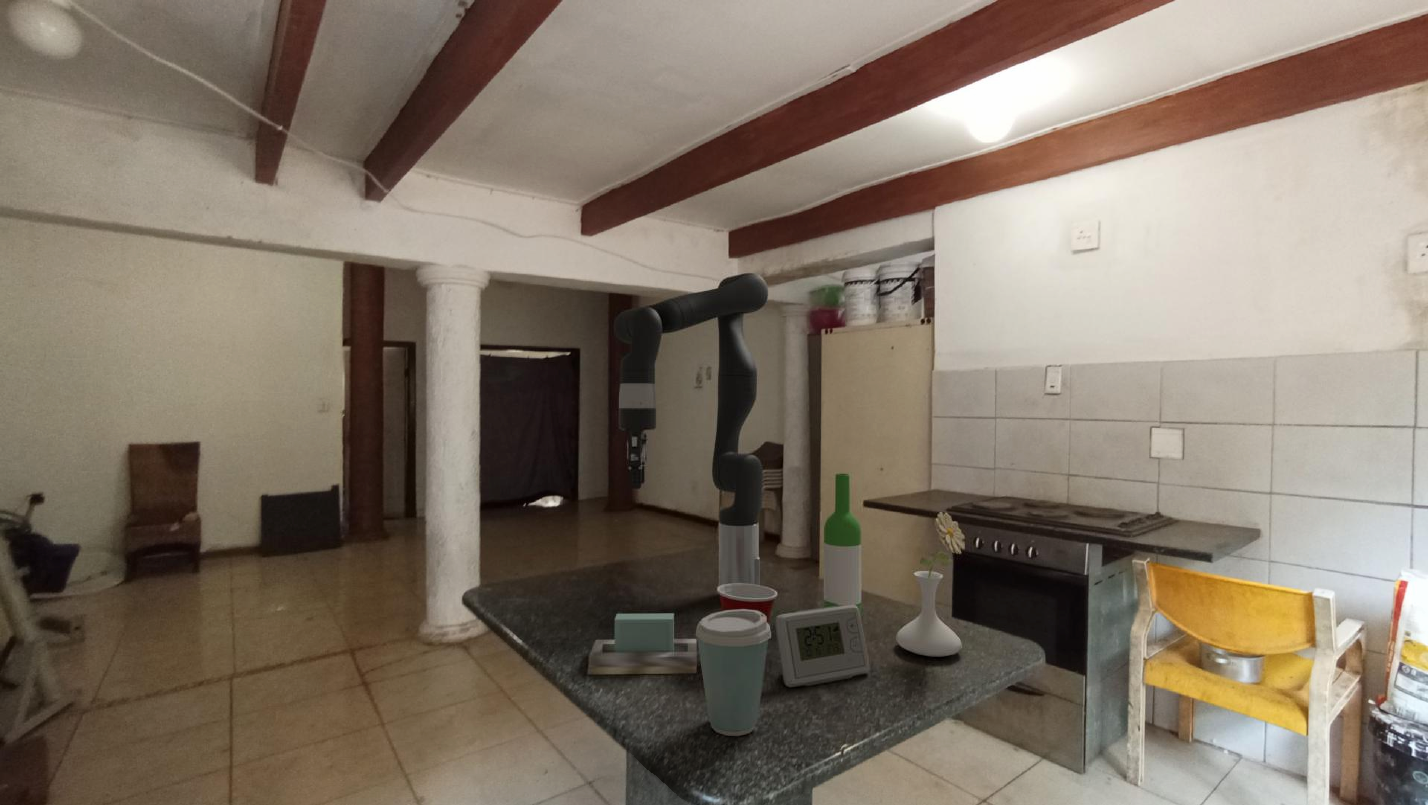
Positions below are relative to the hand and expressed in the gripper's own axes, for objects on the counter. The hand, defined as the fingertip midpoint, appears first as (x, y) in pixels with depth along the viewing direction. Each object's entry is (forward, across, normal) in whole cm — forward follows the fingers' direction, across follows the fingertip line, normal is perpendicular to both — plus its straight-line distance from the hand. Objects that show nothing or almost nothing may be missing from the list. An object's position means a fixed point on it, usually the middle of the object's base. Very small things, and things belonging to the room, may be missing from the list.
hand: (637, 485), depth 129 cm
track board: (+28, -19, -3) cm, 34 cm away
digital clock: (+28, -26, -33) cm, 50 cm away
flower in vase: (+28, -15, -55) cm, 64 cm away
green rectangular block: (+27, -19, -3) cm, 33 cm away
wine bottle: (+28, +4, -43) cm, 52 cm away
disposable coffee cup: (+28, -41, -17) cm, 53 cm away
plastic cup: (+28, -17, -21) cm, 39 cm away
